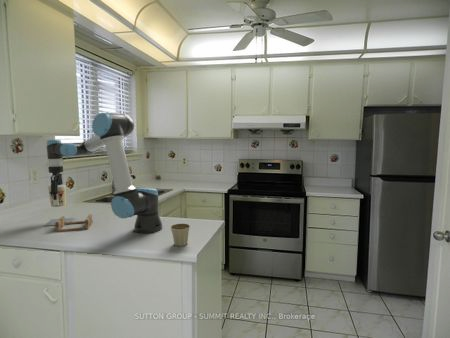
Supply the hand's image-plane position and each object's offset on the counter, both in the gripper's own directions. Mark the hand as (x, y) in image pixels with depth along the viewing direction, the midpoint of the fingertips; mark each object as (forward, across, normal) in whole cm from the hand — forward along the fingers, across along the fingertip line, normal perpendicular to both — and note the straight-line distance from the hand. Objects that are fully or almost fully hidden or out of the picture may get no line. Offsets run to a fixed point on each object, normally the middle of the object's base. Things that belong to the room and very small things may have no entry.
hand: (58, 203), depth 177 cm
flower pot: (+12, -56, -67) cm, 88 cm away
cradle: (+12, -12, -11) cm, 20 cm away
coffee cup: (+2, 0, 0) cm, 2 cm away
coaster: (+12, 0, 0) cm, 12 cm away
